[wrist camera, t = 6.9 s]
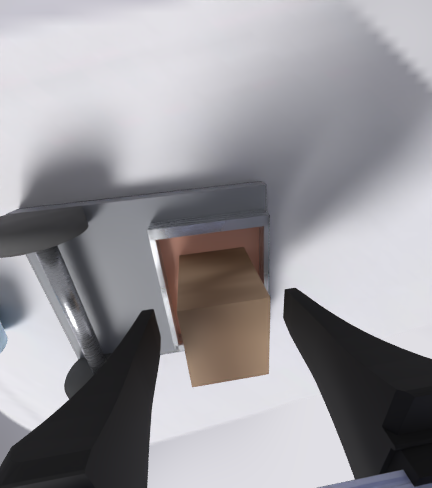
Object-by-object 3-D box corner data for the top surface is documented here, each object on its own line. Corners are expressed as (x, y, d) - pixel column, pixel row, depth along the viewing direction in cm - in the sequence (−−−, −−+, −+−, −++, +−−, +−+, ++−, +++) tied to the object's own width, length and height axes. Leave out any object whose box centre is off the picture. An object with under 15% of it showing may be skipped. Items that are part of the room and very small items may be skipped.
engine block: (243, 246, 14) (270, 297, 10) (246, 309, 17) (268, 373, 12) (179, 255, 14) (176, 311, 10) (190, 317, 16) (192, 387, 12)
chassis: (261, 181, 14) (291, 199, 10) (261, 328, 19) (281, 378, 15) (13, 209, 13) (-61, 241, 9) (84, 356, 18) (57, 418, 14)
